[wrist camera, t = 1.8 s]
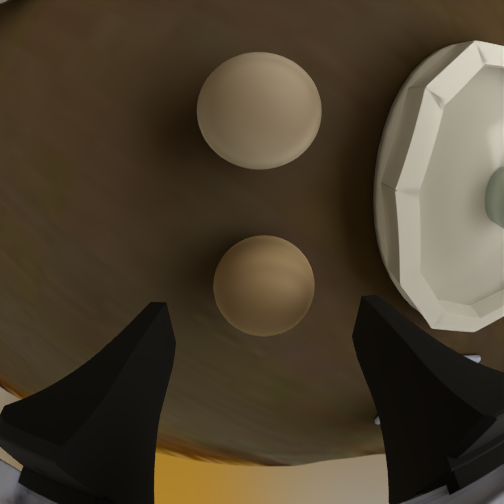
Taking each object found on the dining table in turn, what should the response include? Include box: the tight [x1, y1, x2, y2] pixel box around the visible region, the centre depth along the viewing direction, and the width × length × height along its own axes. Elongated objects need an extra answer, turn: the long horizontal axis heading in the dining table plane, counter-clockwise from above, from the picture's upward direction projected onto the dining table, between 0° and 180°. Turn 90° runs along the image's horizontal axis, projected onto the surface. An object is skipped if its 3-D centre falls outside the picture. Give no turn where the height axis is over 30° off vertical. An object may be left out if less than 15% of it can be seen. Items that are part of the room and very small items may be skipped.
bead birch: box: [197, 52, 322, 169], centre depth 9 cm, size 4×4×4 cm
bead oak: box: [213, 235, 314, 336], centre depth 13 cm, size 4×4×4 cm
